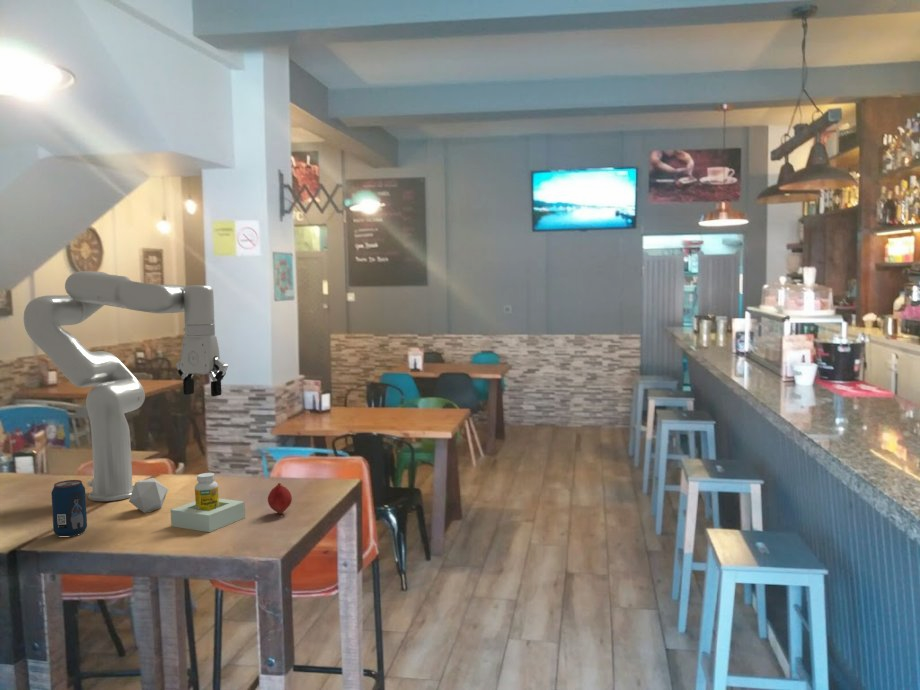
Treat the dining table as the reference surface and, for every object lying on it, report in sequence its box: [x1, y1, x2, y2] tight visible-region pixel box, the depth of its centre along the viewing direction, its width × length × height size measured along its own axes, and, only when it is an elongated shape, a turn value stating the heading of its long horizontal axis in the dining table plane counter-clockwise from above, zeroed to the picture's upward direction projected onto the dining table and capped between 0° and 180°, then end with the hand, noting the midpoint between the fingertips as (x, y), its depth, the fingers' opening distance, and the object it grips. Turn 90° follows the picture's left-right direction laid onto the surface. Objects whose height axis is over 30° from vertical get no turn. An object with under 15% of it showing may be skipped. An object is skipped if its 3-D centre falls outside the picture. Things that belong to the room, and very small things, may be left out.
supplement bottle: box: [194, 472, 220, 511], centre depth 177 cm, size 5×5×10 cm
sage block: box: [170, 497, 246, 533], centre depth 177 cm, size 12×12×4 cm
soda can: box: [51, 479, 88, 537], centre depth 169 cm, size 7×7×12 cm
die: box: [128, 477, 169, 514], centre depth 188 cm, size 8×9×10 cm
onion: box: [267, 482, 293, 515], centre depth 183 cm, size 6×6×8 cm
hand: (202, 394), depth 196 cm, fingers open, 9 cm apart
